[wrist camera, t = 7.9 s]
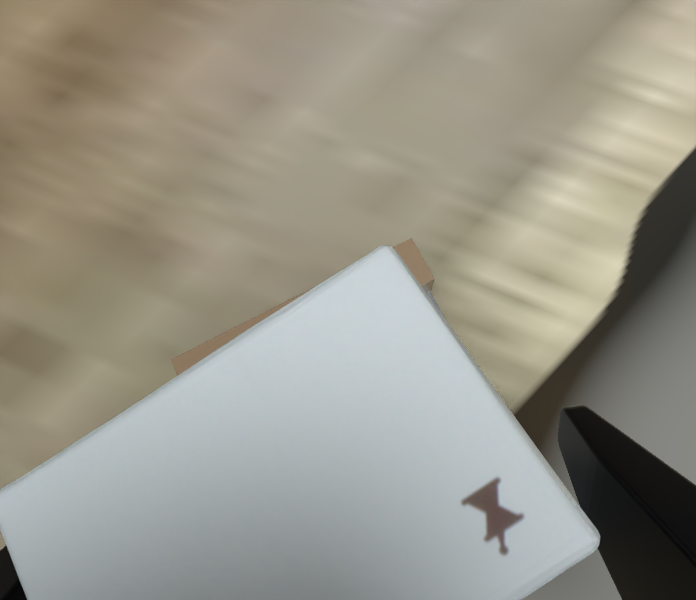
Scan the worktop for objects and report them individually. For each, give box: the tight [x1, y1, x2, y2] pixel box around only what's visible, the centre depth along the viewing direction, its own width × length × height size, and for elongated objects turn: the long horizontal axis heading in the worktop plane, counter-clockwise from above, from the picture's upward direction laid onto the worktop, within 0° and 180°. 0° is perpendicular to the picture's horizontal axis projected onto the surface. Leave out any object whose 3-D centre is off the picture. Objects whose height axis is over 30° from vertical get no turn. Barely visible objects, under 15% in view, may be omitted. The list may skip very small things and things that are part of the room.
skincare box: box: [0, 245, 600, 600], centre depth 11 cm, size 6×4×12 cm
